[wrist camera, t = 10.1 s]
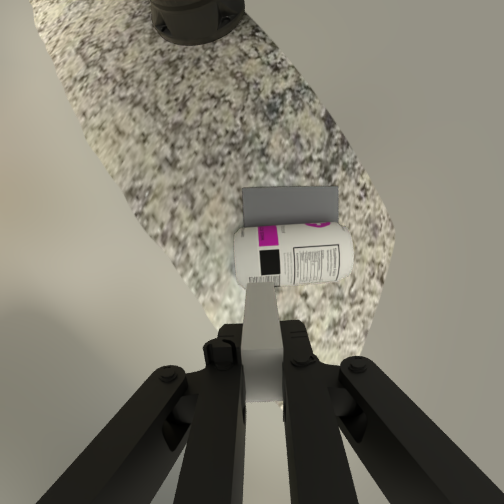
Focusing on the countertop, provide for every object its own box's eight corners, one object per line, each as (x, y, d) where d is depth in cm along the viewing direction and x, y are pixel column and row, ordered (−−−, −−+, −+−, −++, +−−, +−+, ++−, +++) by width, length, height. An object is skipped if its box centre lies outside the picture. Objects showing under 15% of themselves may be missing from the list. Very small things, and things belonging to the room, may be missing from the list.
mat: (242, 188, 40) (242, 188, 40) (337, 186, 40) (338, 186, 40) (246, 274, 44) (246, 275, 43) (336, 270, 43) (336, 271, 43)
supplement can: (232, 218, 35) (348, 211, 35) (238, 239, 43) (335, 233, 43) (234, 283, 33) (358, 273, 33) (241, 293, 41) (342, 285, 41)
